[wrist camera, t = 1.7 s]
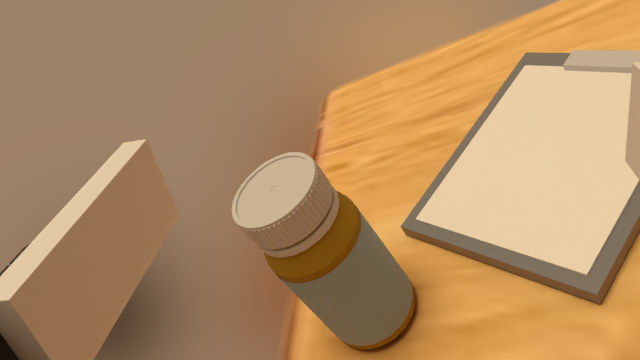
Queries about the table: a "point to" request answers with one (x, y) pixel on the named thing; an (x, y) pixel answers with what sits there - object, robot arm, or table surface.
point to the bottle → (325, 251)
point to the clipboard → (544, 176)
